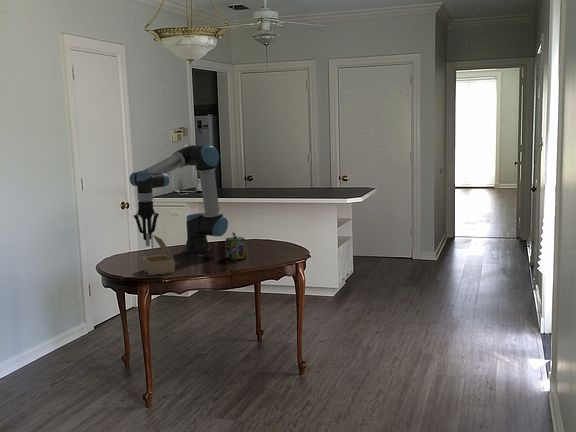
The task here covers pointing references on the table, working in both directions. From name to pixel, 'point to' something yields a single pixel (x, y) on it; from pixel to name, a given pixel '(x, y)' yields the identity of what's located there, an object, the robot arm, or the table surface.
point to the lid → (163, 246)
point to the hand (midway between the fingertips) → (147, 245)
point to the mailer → (158, 264)
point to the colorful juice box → (236, 247)
